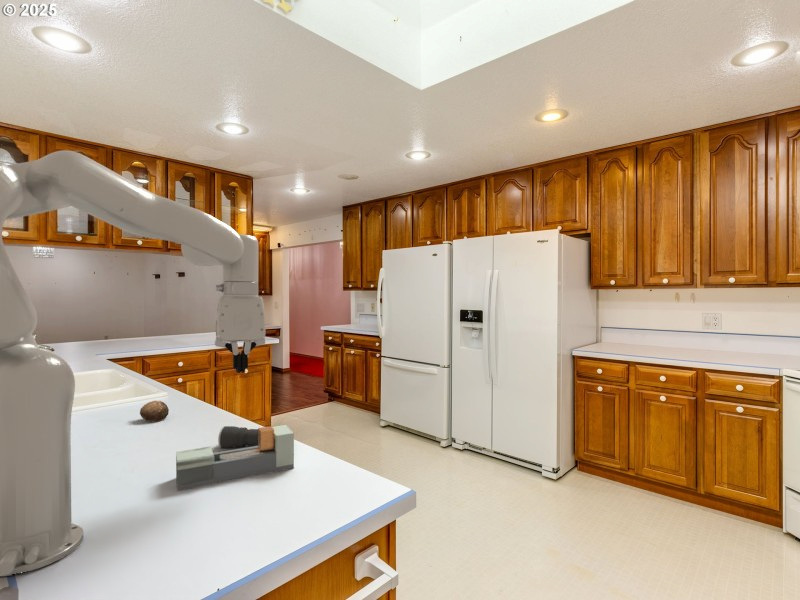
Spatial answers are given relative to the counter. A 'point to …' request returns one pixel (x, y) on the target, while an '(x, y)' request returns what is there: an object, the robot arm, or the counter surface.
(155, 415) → the brown rounded lump
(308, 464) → the counter surface
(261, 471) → the toy lathe
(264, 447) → the hammer
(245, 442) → the flashlight
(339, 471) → the counter surface
